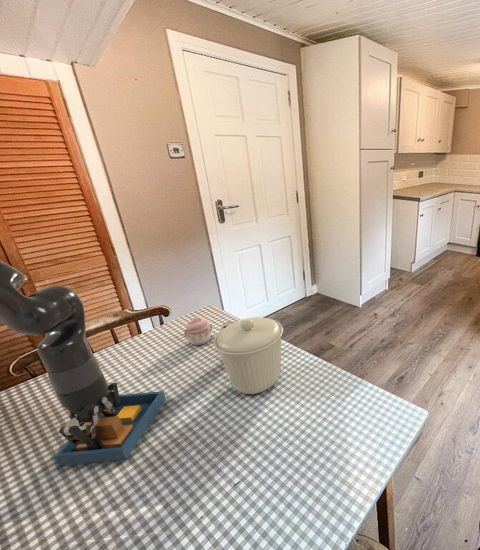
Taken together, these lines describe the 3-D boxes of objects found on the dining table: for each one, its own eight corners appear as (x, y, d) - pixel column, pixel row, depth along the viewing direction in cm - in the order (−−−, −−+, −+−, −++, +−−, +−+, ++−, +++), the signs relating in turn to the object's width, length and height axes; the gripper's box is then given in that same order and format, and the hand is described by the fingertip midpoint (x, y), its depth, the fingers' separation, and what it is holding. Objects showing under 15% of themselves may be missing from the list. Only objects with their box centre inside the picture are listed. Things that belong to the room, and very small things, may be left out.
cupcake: (203, 350, 104) (196, 325, 101) (180, 346, 107) (173, 321, 103) (221, 335, 113) (215, 311, 109) (199, 332, 115) (194, 309, 111)
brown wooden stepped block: (79, 455, 68) (67, 433, 65) (95, 435, 72) (84, 414, 70) (122, 450, 69) (112, 429, 66) (135, 431, 73) (126, 410, 70)
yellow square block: (115, 423, 76) (113, 419, 75) (125, 410, 79) (123, 406, 79) (132, 421, 76) (131, 417, 75) (142, 409, 80) (140, 405, 79)
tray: (59, 468, 65) (53, 456, 64) (113, 405, 82) (109, 395, 80) (127, 461, 67) (122, 449, 65) (166, 401, 83) (163, 391, 82)
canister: (242, 415, 78) (227, 347, 70) (214, 381, 90) (199, 320, 82) (300, 380, 90) (293, 318, 82) (269, 354, 102) (261, 298, 94)
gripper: (84, 358, 69) (109, 414, 76) (27, 407, 56) (62, 469, 63) (119, 356, 70) (140, 411, 77) (71, 403, 57) (101, 465, 63)
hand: (105, 437), depth 70 cm, fingers closed on brown wooden stepped block, 5 cm apart
